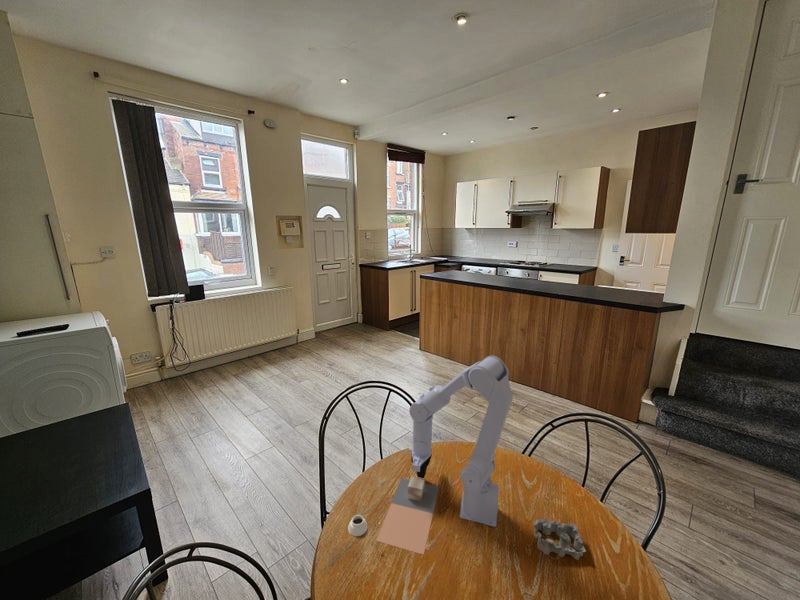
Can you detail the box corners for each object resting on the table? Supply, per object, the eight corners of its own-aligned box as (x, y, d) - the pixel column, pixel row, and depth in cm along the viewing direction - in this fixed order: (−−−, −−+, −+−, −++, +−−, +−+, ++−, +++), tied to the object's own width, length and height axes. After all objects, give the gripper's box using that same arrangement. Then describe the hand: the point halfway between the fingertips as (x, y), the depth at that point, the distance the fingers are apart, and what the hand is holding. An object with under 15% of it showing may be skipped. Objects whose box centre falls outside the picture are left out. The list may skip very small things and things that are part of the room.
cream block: (424, 491, 95) (424, 479, 94) (421, 501, 91) (421, 489, 90) (411, 488, 96) (411, 476, 95) (407, 498, 92) (407, 486, 91)
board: (439, 488, 97) (439, 486, 96) (423, 556, 76) (423, 554, 76) (401, 479, 100) (401, 478, 100) (376, 542, 79) (376, 540, 79)
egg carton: (537, 554, 77) (538, 540, 76) (531, 527, 84) (532, 514, 83) (586, 564, 75) (588, 549, 74) (576, 535, 82) (577, 522, 81)
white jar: (357, 517, 86) (344, 531, 82) (356, 508, 86) (343, 521, 82) (371, 527, 84) (358, 541, 79) (371, 517, 83) (358, 531, 79)
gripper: (415, 421, 105) (414, 458, 107) (402, 448, 91) (402, 490, 94) (436, 425, 103) (435, 462, 105) (427, 453, 89) (425, 496, 92)
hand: (421, 476), depth 99 cm, fingers closed
